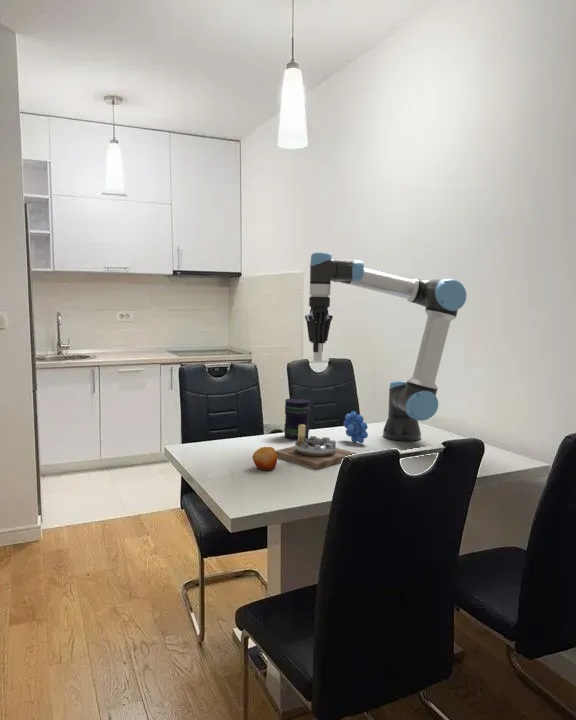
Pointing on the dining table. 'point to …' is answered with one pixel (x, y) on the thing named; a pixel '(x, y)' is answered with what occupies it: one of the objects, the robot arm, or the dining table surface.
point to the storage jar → (296, 417)
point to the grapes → (355, 427)
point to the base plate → (313, 458)
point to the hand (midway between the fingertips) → (317, 360)
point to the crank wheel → (313, 444)
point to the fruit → (265, 458)
